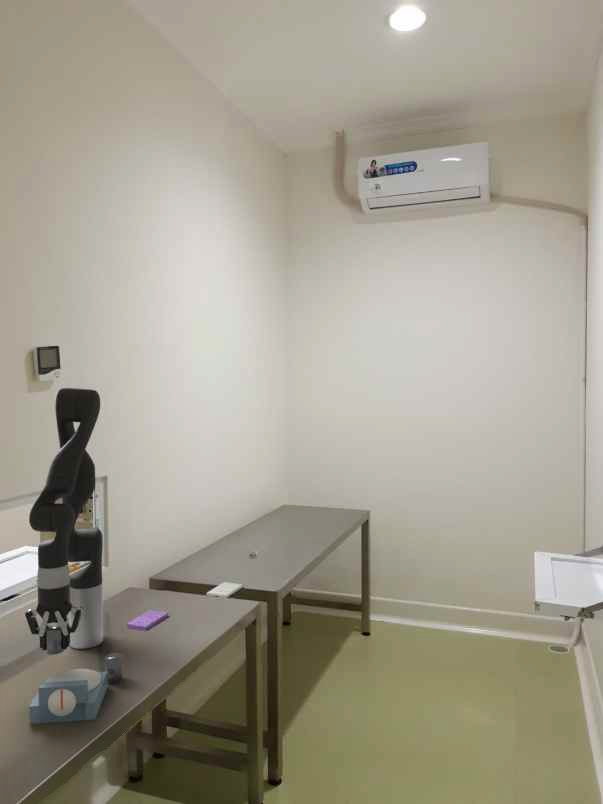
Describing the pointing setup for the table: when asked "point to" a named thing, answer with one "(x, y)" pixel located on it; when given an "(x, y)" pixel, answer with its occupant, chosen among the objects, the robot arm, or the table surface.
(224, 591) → the external hard drive
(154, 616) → the sponges
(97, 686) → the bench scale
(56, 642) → the cylinder
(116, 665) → the cylinder
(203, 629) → the table surface
